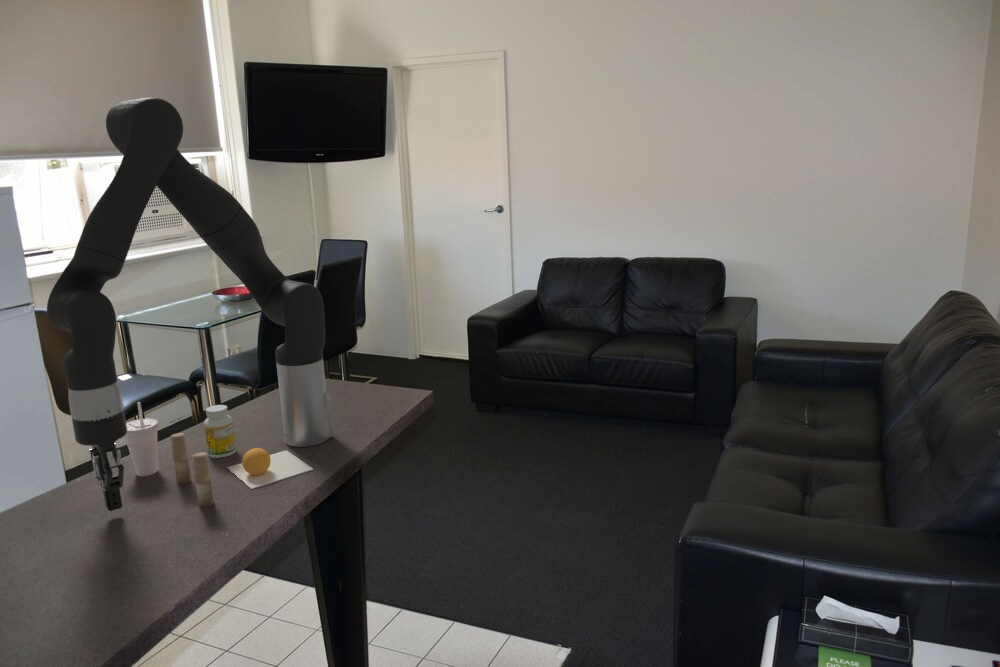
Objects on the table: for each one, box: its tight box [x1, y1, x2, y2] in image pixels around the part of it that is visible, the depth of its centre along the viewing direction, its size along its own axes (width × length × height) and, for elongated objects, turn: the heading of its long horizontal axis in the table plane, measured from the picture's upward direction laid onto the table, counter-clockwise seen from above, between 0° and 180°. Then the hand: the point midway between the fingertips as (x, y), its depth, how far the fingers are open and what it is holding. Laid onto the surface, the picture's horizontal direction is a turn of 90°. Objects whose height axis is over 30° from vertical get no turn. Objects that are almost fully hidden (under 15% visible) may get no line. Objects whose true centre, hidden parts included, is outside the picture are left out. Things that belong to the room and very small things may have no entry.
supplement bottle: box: [203, 404, 237, 459], centre depth 149 cm, size 5×5×10 cm
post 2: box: [191, 451, 215, 508], centre depth 128 cm, size 2×2×9 cm
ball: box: [241, 447, 271, 475], centre depth 140 cm, size 5×5×5 cm
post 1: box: [169, 432, 192, 485], centre depth 137 cm, size 2×2×9 cm
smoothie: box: [124, 401, 160, 477], centre depth 141 cm, size 6×6×14 cm
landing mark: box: [226, 450, 314, 490], centre depth 142 cm, size 12×12×1 cm
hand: (114, 507), depth 125 cm, fingers closed
